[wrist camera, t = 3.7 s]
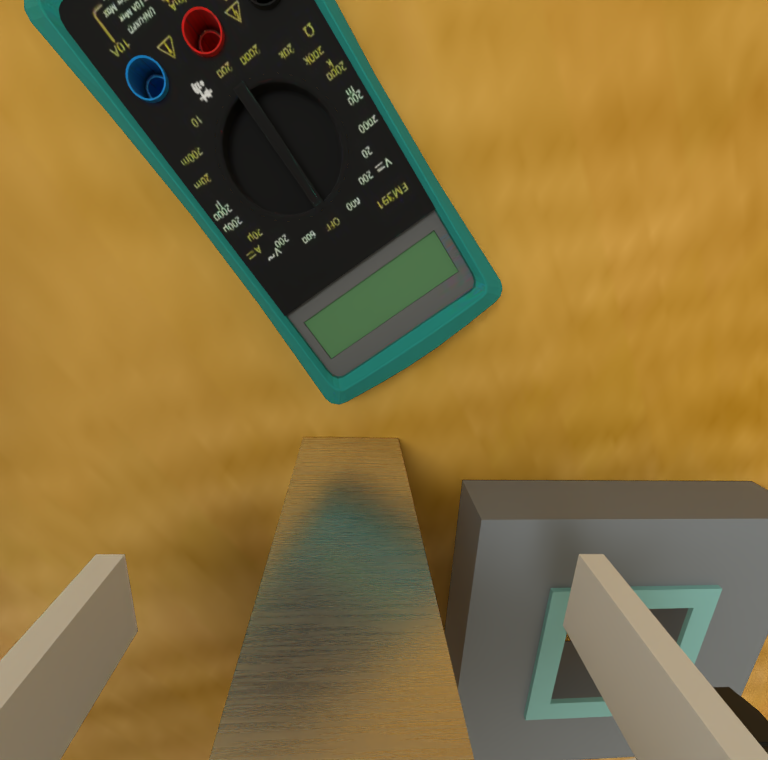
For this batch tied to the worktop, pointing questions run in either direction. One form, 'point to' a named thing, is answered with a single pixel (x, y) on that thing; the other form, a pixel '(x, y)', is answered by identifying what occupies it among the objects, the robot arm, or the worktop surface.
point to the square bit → (345, 624)
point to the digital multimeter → (287, 171)
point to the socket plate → (552, 590)
